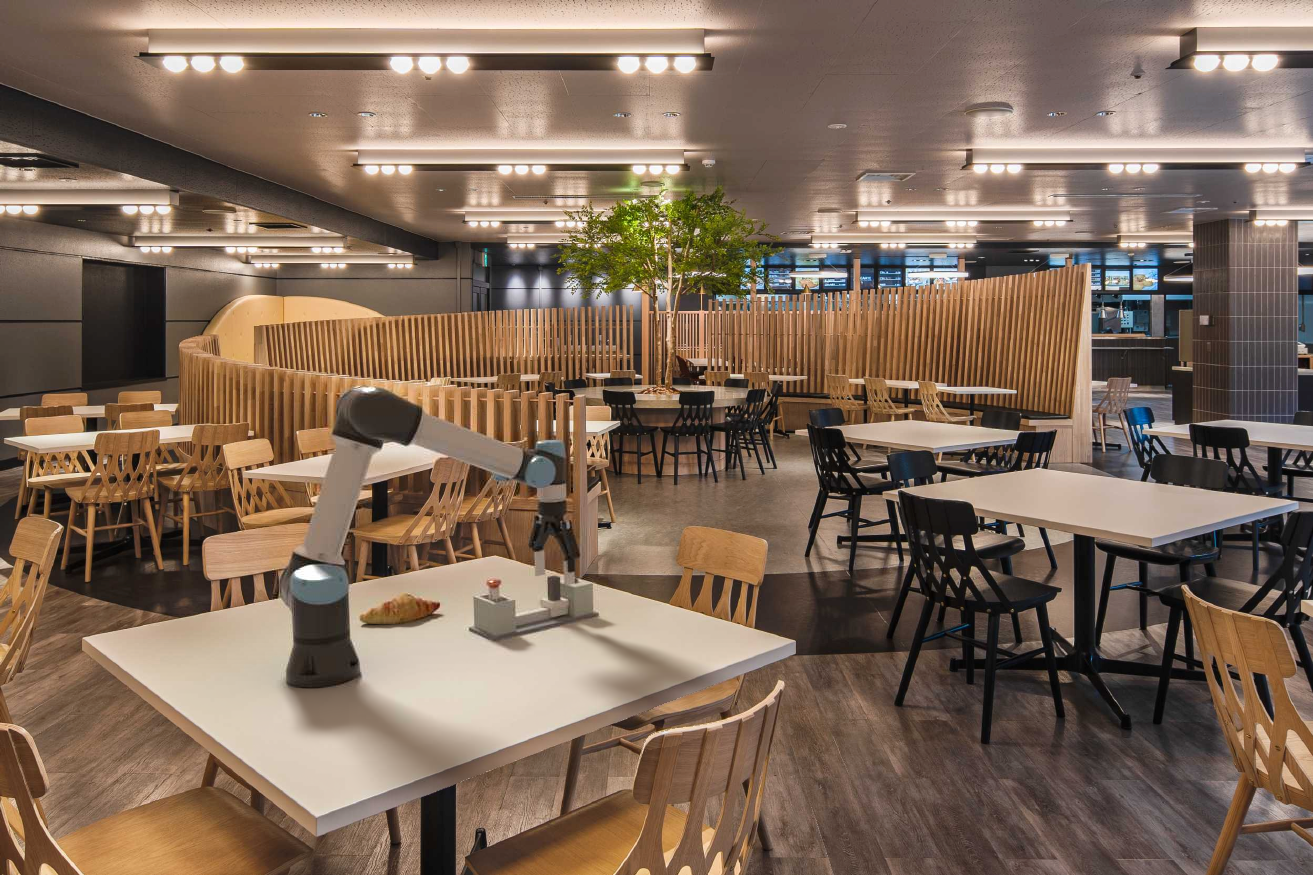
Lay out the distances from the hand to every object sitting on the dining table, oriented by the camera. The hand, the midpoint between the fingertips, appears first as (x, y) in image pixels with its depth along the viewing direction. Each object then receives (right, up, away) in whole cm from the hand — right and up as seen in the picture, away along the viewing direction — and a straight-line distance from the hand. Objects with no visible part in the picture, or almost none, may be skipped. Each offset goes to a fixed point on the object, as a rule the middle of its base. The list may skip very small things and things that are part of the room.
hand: (554, 579), depth 239 cm
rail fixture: (-5, -11, -3) cm, 12 cm away
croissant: (-41, -11, +2) cm, 43 cm away
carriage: (0, -9, +1) cm, 9 cm away
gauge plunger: (-14, -7, -11) cm, 19 cm away
